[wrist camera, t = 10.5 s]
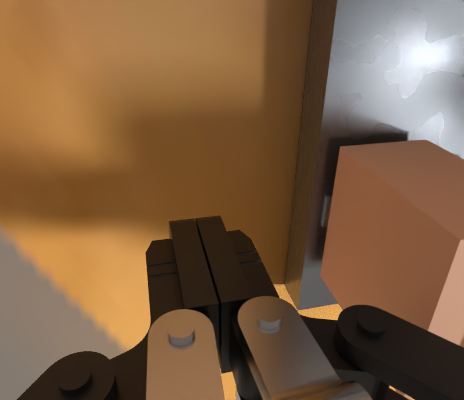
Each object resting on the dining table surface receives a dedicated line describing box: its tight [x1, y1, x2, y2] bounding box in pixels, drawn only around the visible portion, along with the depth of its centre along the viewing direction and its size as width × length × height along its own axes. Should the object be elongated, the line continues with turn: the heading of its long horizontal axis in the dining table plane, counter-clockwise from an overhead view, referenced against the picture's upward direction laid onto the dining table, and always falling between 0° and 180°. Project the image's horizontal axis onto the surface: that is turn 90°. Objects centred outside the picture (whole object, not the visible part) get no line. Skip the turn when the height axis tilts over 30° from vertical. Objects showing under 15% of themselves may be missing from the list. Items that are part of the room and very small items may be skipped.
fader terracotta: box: [320, 139, 464, 399], centre depth 11 cm, size 3×5×5 cm, turn 179°
